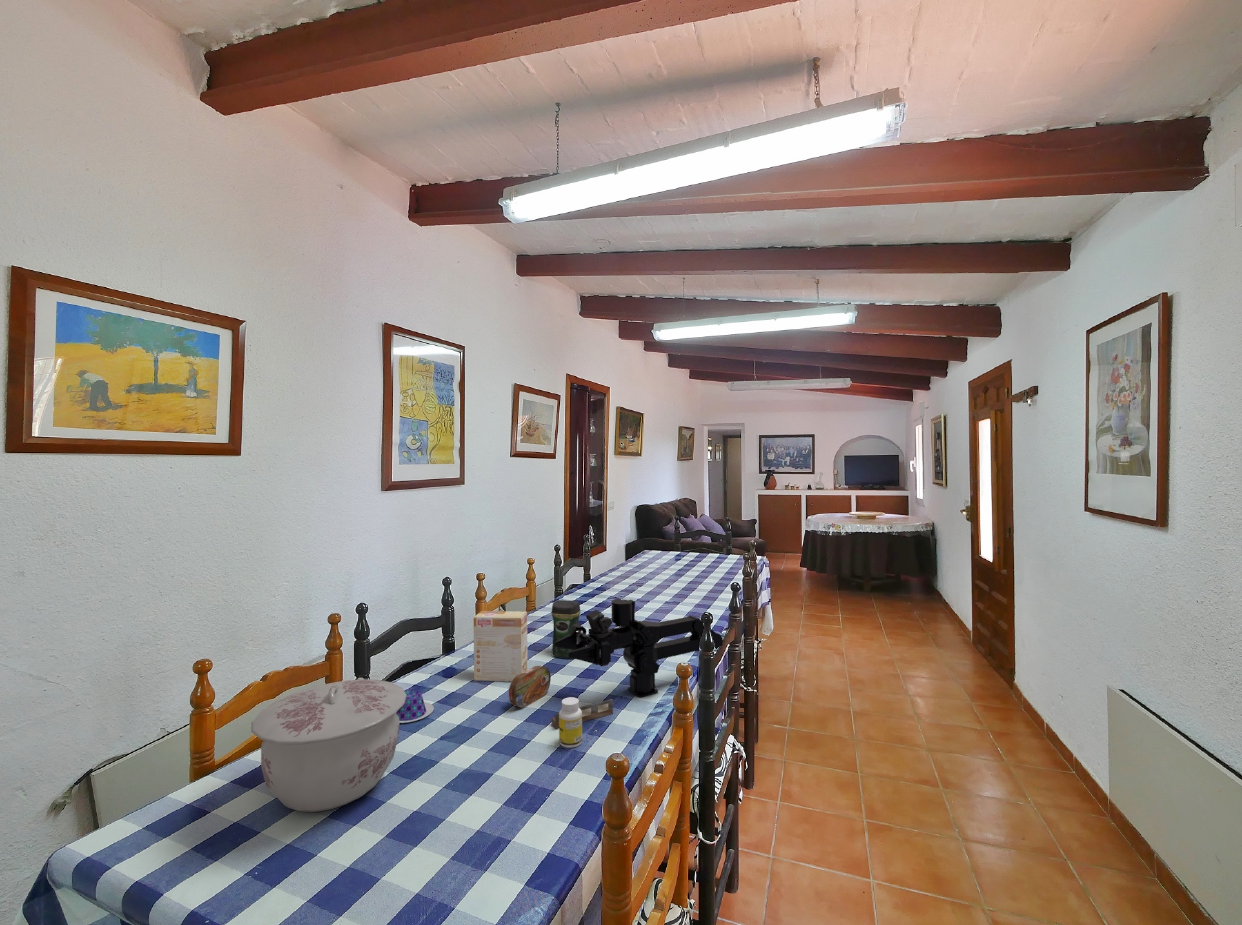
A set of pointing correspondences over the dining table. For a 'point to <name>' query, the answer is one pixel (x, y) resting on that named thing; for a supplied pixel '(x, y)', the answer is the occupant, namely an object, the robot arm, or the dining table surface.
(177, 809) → the dining table surface
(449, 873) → the dining table surface
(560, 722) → the supplement bottle
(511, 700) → the tin
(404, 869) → the dining table surface
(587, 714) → the rail
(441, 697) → the dining table surface
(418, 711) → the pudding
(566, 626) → the coffee jar
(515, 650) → the coffeecake box
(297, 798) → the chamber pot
